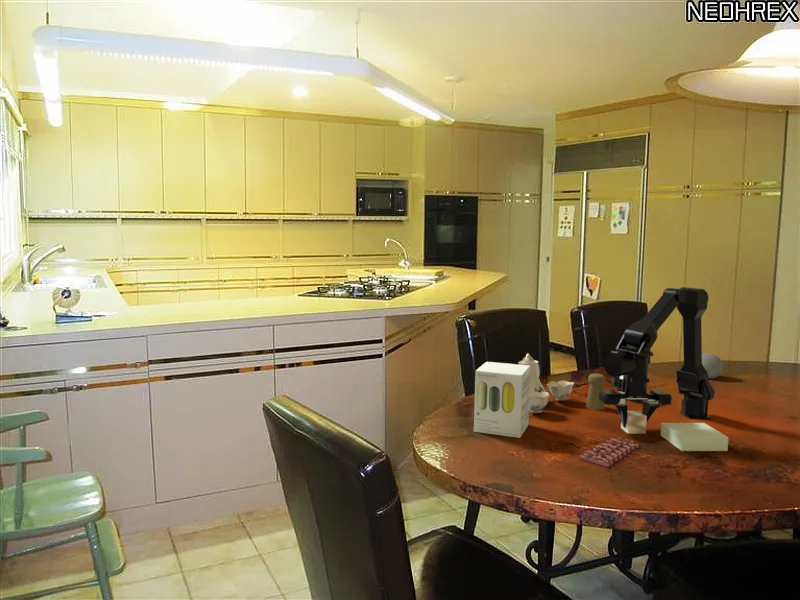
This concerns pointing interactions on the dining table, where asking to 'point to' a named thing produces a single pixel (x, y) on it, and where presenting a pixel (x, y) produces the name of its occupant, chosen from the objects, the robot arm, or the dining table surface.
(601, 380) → the cork
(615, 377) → the robot arm
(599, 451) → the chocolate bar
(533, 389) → the chinaware
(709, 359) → the decorative ball
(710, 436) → the sage block
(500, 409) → the supplement box
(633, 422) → the birch cube
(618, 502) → the dining table surface
